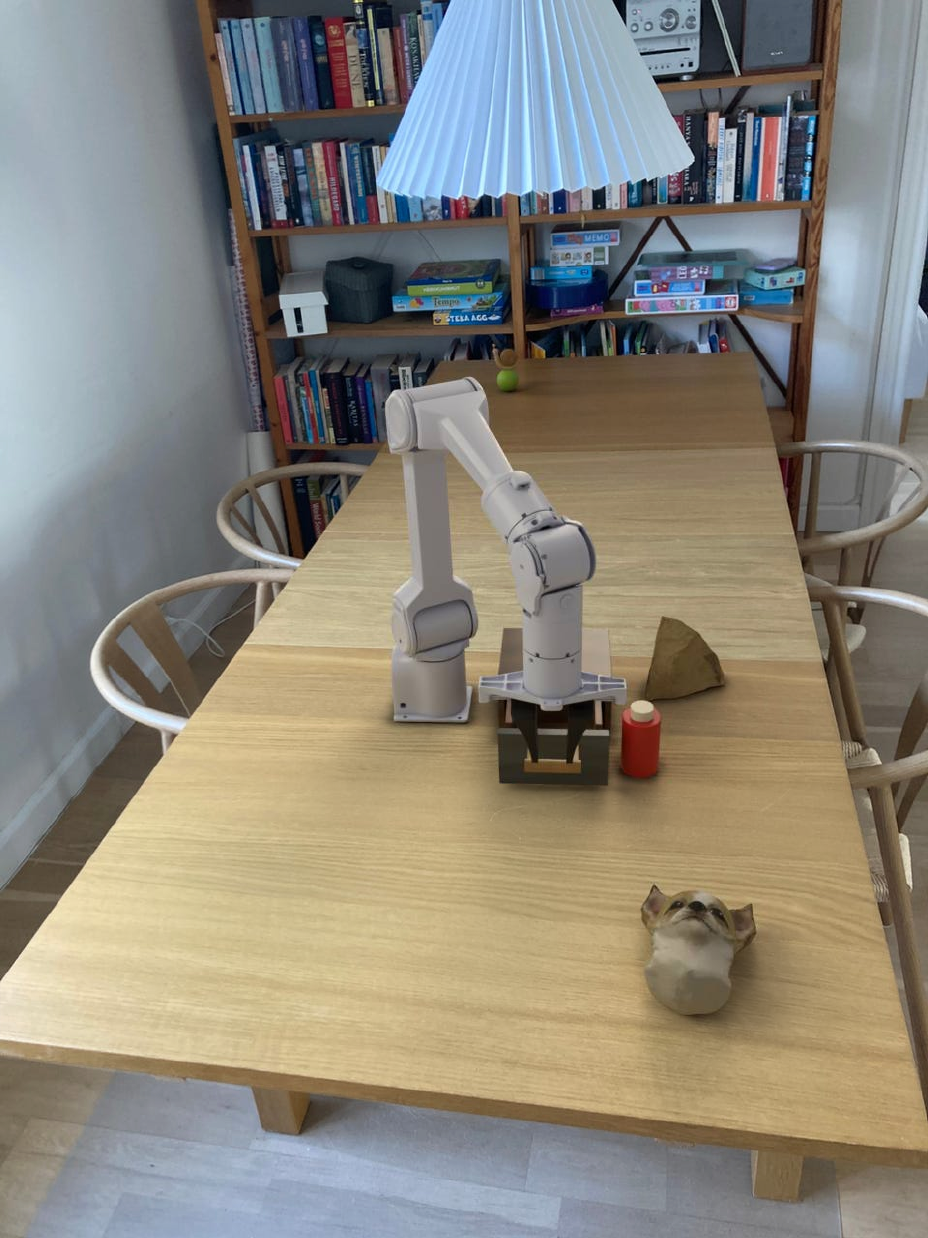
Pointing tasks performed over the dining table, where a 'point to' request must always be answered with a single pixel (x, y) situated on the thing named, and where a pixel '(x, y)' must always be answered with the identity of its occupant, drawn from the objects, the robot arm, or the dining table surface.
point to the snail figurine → (506, 369)
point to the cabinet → (592, 662)
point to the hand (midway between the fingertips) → (552, 757)
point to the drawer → (554, 751)
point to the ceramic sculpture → (693, 948)
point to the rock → (681, 662)
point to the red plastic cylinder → (640, 740)
